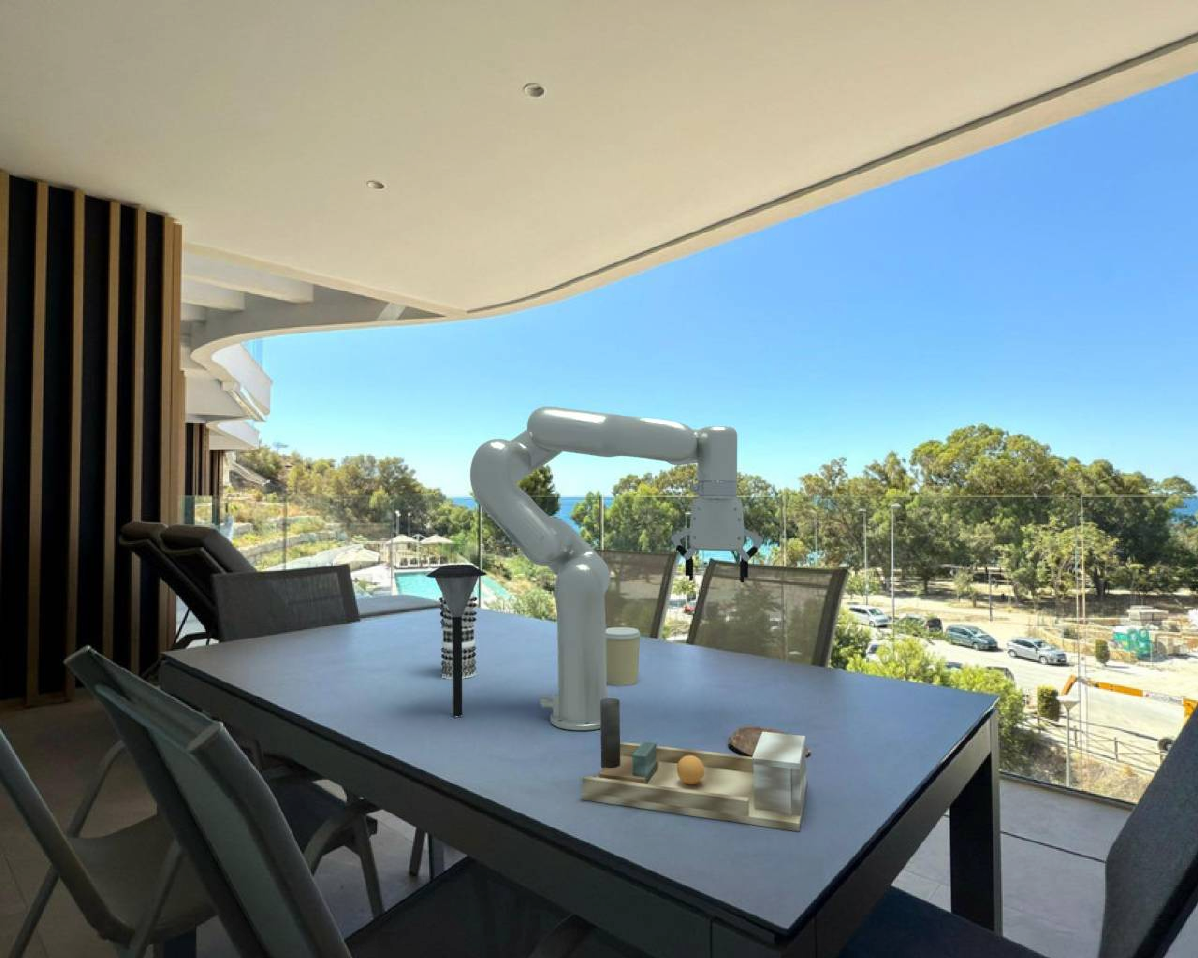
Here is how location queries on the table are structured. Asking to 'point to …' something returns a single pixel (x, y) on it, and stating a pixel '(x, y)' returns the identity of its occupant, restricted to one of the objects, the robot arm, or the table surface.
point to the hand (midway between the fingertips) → (716, 580)
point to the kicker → (611, 760)
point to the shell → (750, 740)
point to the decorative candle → (467, 639)
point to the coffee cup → (622, 655)
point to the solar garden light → (457, 614)
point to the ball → (690, 769)
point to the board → (720, 784)
